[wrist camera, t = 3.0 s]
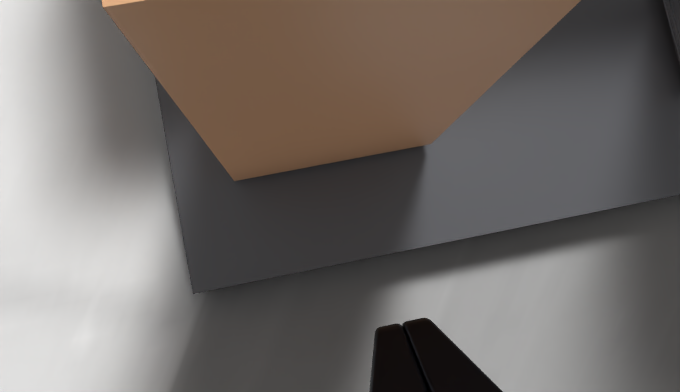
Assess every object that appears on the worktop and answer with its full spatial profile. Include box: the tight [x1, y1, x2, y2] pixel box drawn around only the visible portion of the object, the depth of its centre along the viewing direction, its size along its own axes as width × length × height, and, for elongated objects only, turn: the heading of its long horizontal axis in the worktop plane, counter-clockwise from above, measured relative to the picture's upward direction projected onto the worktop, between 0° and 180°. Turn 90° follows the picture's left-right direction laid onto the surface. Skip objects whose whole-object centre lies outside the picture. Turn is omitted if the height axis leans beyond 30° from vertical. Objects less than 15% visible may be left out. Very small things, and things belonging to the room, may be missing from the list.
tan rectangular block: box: [102, 0, 581, 181], centre depth 10 cm, size 3×5×10 cm, turn 101°
